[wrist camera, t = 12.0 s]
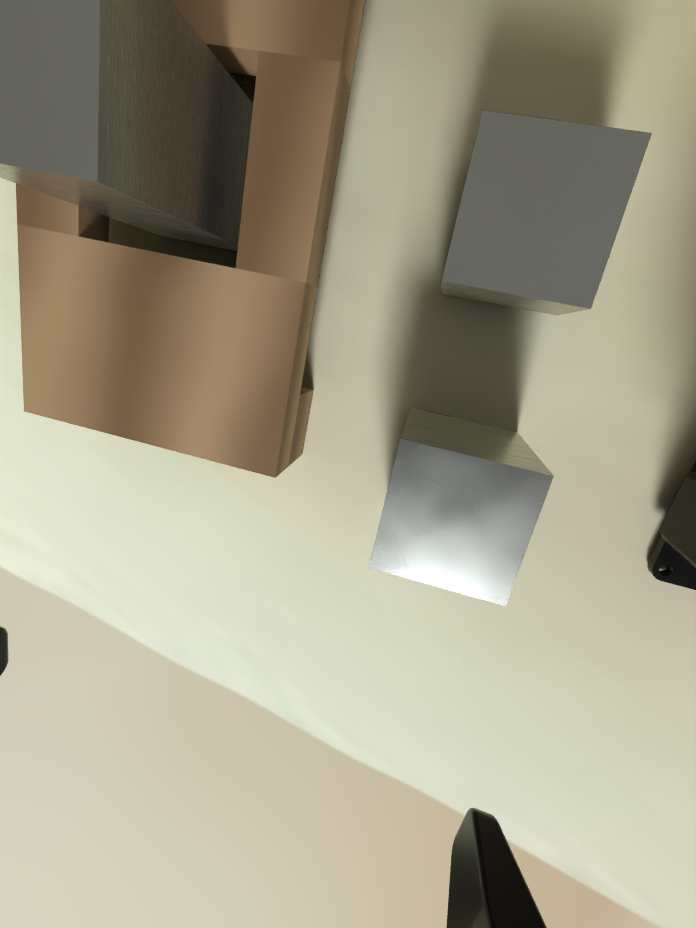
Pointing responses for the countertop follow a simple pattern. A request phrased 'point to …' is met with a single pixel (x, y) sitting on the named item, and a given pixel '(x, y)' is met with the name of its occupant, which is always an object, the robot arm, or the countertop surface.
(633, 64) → the countertop surface
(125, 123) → the long pin
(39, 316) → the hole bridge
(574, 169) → the grey metal cube
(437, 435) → the medium pin
